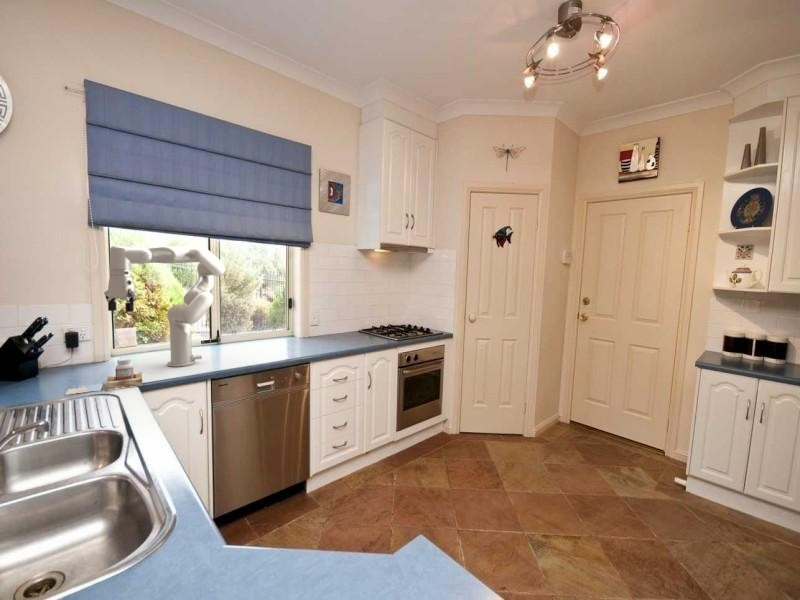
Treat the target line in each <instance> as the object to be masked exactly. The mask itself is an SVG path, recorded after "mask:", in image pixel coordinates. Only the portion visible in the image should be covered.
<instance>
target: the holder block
mask: <svg viewBox="0 0 800 600" xmlns="http://www.w3.org/2000/svg"><path fill="white" fill-rule="evenodd" d="M130 386H136V387H142V386H143V373H142V372H134V379H126V380H118V381H116V374H114V375H107V378H106V381H105V390H106V389H114V390H116V389H115V388H121V389H123V388H122V387H129V388H131V387H130Z"/></svg>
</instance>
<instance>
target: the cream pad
mask: <svg viewBox="0 0 800 600" xmlns="http://www.w3.org/2000/svg"><path fill="white" fill-rule="evenodd" d="M87 390H89V389H87V388H85V386H84V387H81V388H80V387H79V388H78V389H77V388H75V389H74V388H73V389H69V388H68V389H67V390H66V391H65V395H66V396H70V395H69V394H74V395H77V394H76V393H81V394H84V393H83V392H87ZM65 395H64V396H65Z"/></svg>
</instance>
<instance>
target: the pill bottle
mask: <svg viewBox="0 0 800 600" xmlns="http://www.w3.org/2000/svg"><path fill="white" fill-rule="evenodd" d="M134 373H135V372H134V364H133V363H132V359H131V358H130V357H123V358H118V359H117V365H115V375H116V381H118V380H126V379H134Z"/></svg>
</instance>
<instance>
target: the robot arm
mask: <svg viewBox="0 0 800 600" xmlns="http://www.w3.org/2000/svg"><path fill="white" fill-rule="evenodd" d="M187 263H198V264H197V268H196V269H197V275H198V278H197V280H196V282H195V283H194V284H193V286H192V287H191V288H190V289H189V290H188V291H187V293H185V295H184V297H183V302H184V304H174V305H172V306H171V307H170V308H169V309H168V311H167V321H168V325H169V343H170V344H169V345H170V361H168V362H167V364H166V365H167V366H168V367H171V366H172V368H176V367H177V368H180V366H181V367H188V366H192V365H194V364H195V363H196V360H202V358H203V357H202V355H199V354H198V355H193V353H192V327H191V325H193V324H195V323H198V322H199V321H200V320H201V318H202V317H203V316H204V315H205V313H207V311H208V310H209V309H210V308H211V307H212V305H213V302H214V295H213V294H212V290H213V289H214V286H215V284H214V282H215V281H214V280H215V279H214V277H220V276H222V275H223V274H224V273H225V265H224V263H223V261H221V260H220V258H218V257H217V256H216V255H214V254H213V253H212V252H211V251H210V250H209V249H208V248H206V247H204V246H202V245H201V246H199V245H198V246H159V247H158V246H157V247H127V246H122V245H121V246H120V245H115V246H114V245H113V246H111V247H110V248H109V278H108V284H107V285H108V286H107V290H105V291H104V292H103V293H104V296H105V299H106V302H107V310H108V312H113V311H114V312H115V311H117V302H116V300H117V299H120V300H121V299H122V300H125V312H126V313H130V312H132V313H133V312H134V303H135V302H136V300H137V296H138V293H137V292H136V291H135V284H134V279H133V277H132V264H133V265H135V264H138V265H139V264H187Z"/></svg>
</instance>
